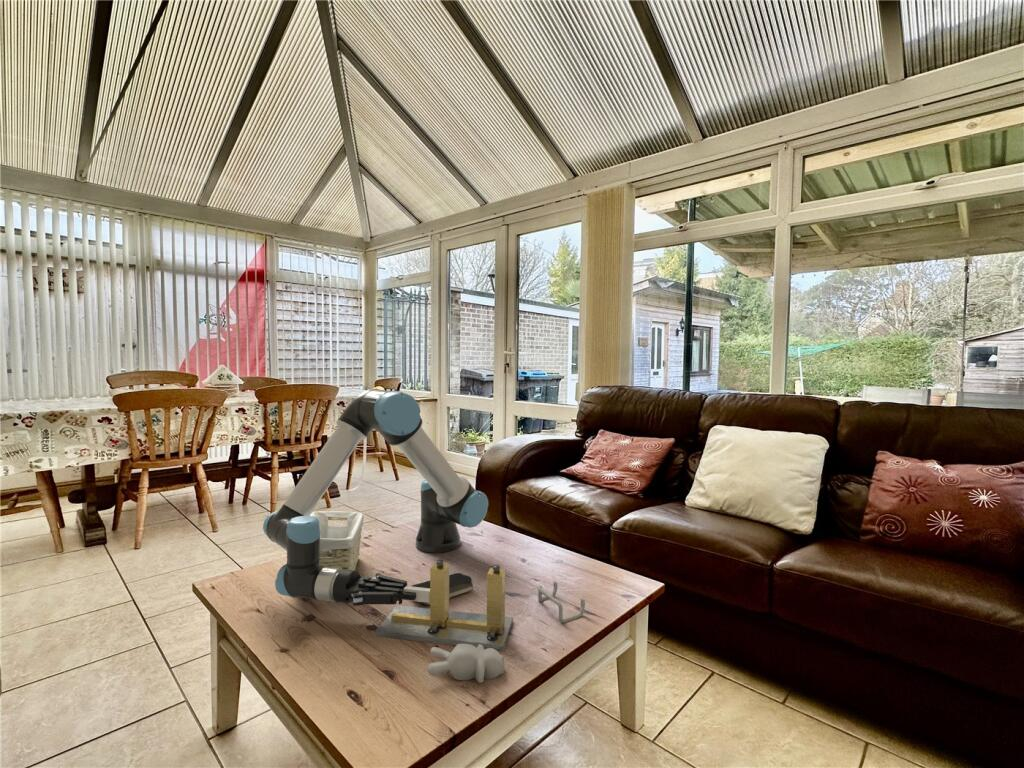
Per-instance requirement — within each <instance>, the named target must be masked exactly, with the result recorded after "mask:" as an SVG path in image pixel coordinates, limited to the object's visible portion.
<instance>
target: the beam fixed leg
mask: <svg viewBox="0 0 1024 768" xmlns="http://www.w3.org/2000/svg"><path fill="white" fill-rule="evenodd" d="M505 601H506V568H501V567H500V565H499V564H494V565H492V567H490V568H489V570H488V572H487V574H486V615H487V622H478V621H468V620H459V619H450V618H447V619H446V621H445V626H453V627H462V628H471V629H480V630H487V632H490V638H494V637H495V635H496V633H500V634H501V633H502V629H503V627H504V625H505V617H506V615H505V612H506V611H505V610H506V606H505V605H506V602H505ZM391 620H399V621H408V622H417V623H426V624H430V616H422V615H413V614H404V613H395V612H394V613H393V614H392V615H391Z"/></svg>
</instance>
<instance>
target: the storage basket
mask: <svg viewBox="0 0 1024 768" xmlns="http://www.w3.org/2000/svg"><path fill="white" fill-rule="evenodd" d="M310 516H314V517H316V518H318V520H319V524H320V549H319V566H320V567H328V568H339V569H342V570H343V569H346V570H355V571H356V568H357V567H356V566H357V564H358V561H359V557H360V554H361V553H360V548H361V547H360V546H361V538H362V530H363V528H362V527H363V524H364V523H363V522H364V513H363V512H362V511H335V510H334V511H331V510H330V511H329V510H328V511H327V510H325V511H324V510H323V511H312V513H311V514H310ZM329 521H346V522H347V525H346V526H330V525H329Z"/></svg>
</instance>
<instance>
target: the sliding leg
mask: <svg viewBox="0 0 1024 768" xmlns="http://www.w3.org/2000/svg"><path fill="white" fill-rule="evenodd" d="M429 573H430V575H429V576H430V577H429V578H430V579H429V581H430V604H429V609H430V626H433V627H432V631H435V632H436V631H437V629H438V628H439V627H445V621H446V619H447V618H449V611H450V598H449V575H450V564H449V563H444V560H441V559H438V560H436V562H435V563H434V564H433V565H432V566H431V567H430V570H429Z"/></svg>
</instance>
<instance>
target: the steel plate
mask: <svg viewBox="0 0 1024 768" xmlns="http://www.w3.org/2000/svg"><path fill="white" fill-rule="evenodd" d="M394 612H395V613H404V614H413V615H422V616H430V608H427V607H417V606H408V605H401V604H398V605H397V604H396V606H394V608H393V609H392V610H391V612H390V613H389V614H388V615H387V617H386V618H385V619H384V620H383V621H382V623H381V624H380V625H379V626H378V628H377V629H376V630H375V637H381V638H391V639H399V640H407V641H414V642H415V641H416V642H425V643H433V644H442V645H447V646H448V645H450V646H456V645H457V644H470V645H473V646H475V647H476V648H477V646H478V645H479V644H481V645H483V647H484V650H485V649H487V648H493V649H495V650H496V651H498V652H499V651H500V652H501V651H502V652H504V650H505V647H506V644H507V641H508V638H509V636H510V633H511V629H512V625H513V623H514V617H511V616H505V625H504V627H503V629H502V633H501V634H500V633H496V635H495V637H494V638H490V632H487V630H480V629H471V628H462V627H453V626H445V627H439V628H438V629H437V631H436V632H435V631H432V627H433V626H430V624H426V623H417V622H408V621H399V620H391V615H392V614H393V613H394ZM449 618H450V619H459V620H468V621H478V622H487V614H484V613H474V612H463V611H455V610H449Z"/></svg>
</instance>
